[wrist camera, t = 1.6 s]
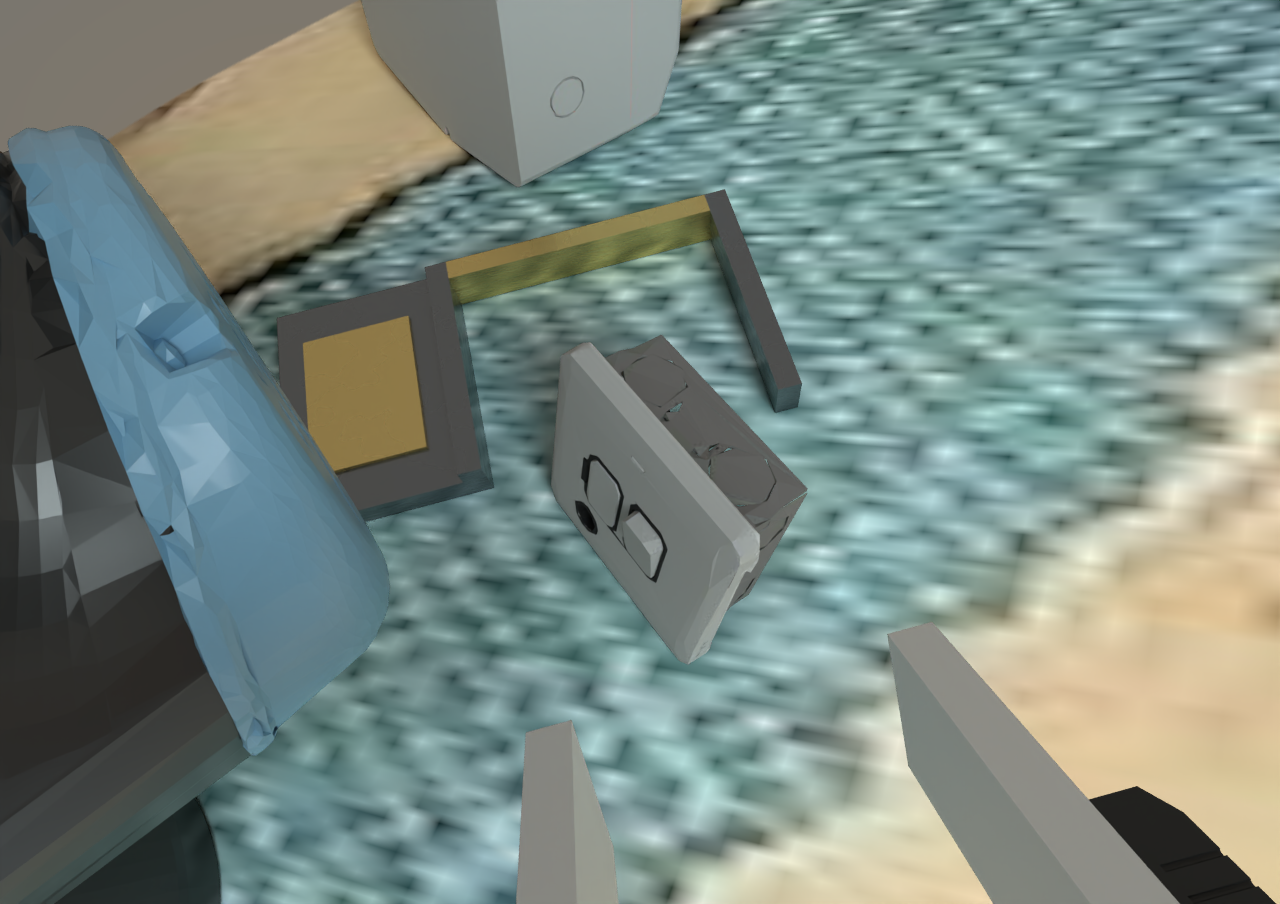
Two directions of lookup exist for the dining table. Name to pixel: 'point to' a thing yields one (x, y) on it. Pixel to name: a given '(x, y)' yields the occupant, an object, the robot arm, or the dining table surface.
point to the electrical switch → (667, 486)
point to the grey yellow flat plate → (441, 361)
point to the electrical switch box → (530, 72)
